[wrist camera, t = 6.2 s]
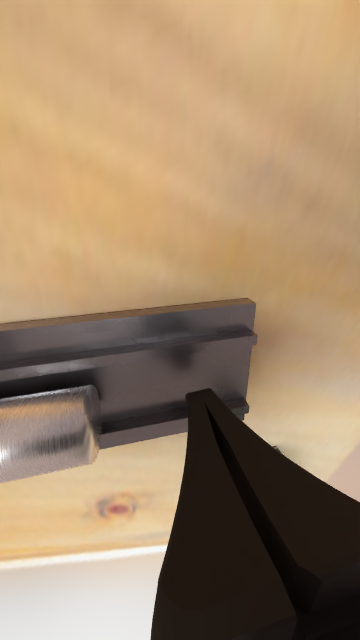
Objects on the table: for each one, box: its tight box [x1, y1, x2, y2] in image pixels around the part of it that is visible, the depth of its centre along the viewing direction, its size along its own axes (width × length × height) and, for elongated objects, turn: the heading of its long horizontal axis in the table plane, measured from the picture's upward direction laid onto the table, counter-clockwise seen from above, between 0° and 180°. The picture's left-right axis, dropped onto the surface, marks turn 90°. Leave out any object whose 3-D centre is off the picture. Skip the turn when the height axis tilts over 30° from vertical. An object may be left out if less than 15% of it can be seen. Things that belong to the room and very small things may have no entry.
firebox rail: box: [0, 298, 257, 450], centre depth 10 cm, size 25×9×6 cm, turn 93°
